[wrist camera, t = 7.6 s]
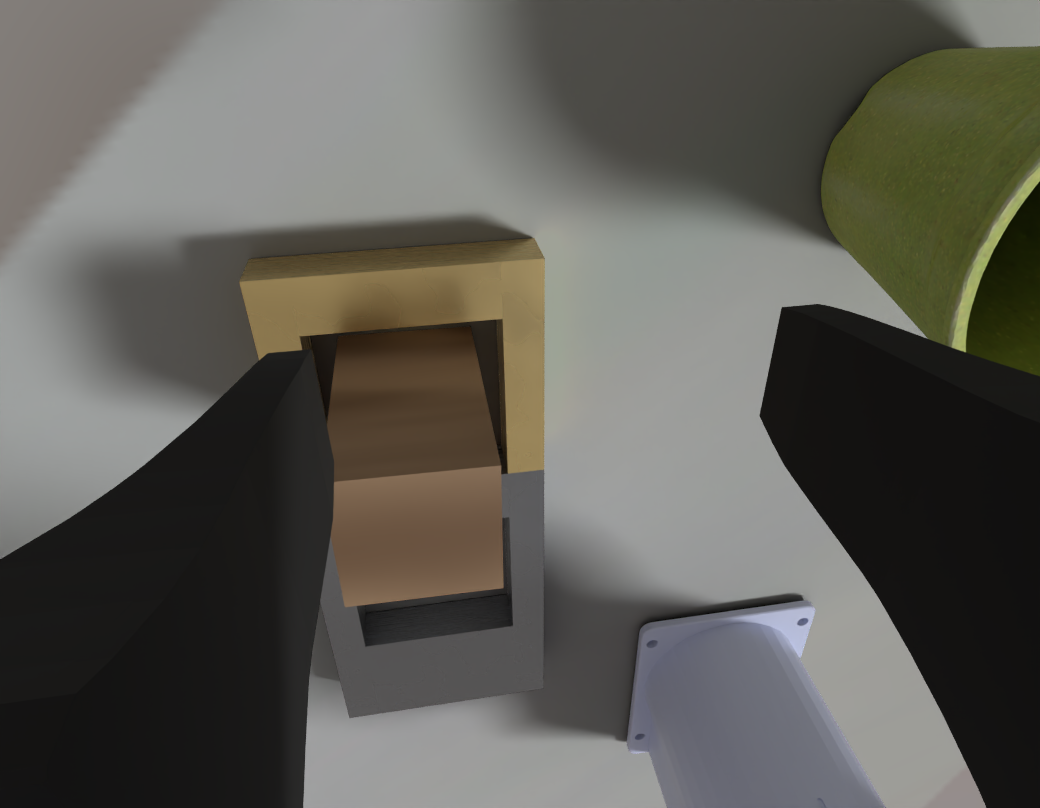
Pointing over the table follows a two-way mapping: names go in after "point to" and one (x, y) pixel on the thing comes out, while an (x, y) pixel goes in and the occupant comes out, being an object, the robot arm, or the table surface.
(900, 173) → the plant pot
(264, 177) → the table surface
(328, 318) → the tray
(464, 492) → the walnut block
